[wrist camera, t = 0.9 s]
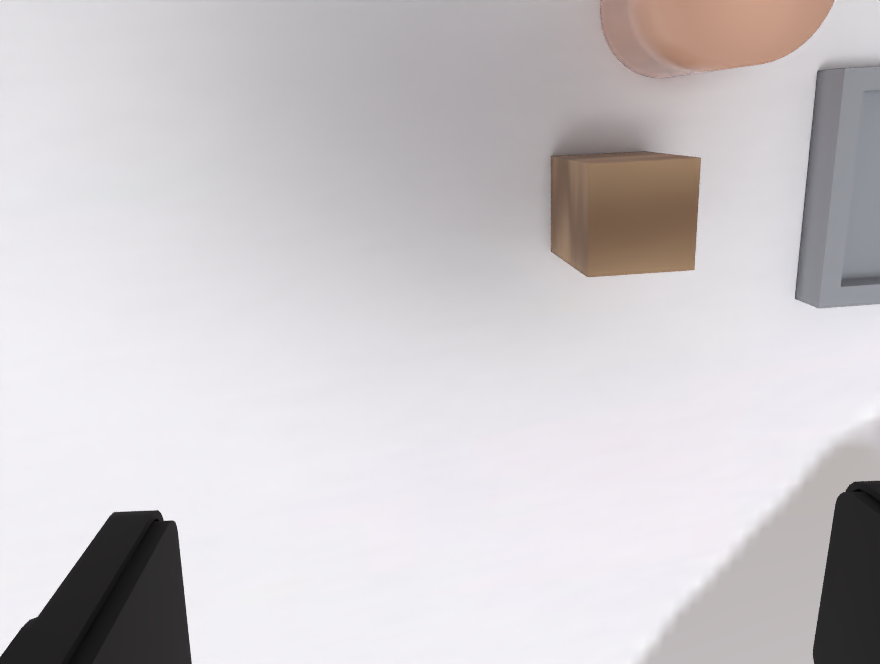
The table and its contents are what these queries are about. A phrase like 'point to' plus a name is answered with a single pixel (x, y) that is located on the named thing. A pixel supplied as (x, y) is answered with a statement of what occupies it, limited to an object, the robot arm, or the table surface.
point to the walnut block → (625, 212)
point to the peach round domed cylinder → (706, 32)
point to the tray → (842, 193)
